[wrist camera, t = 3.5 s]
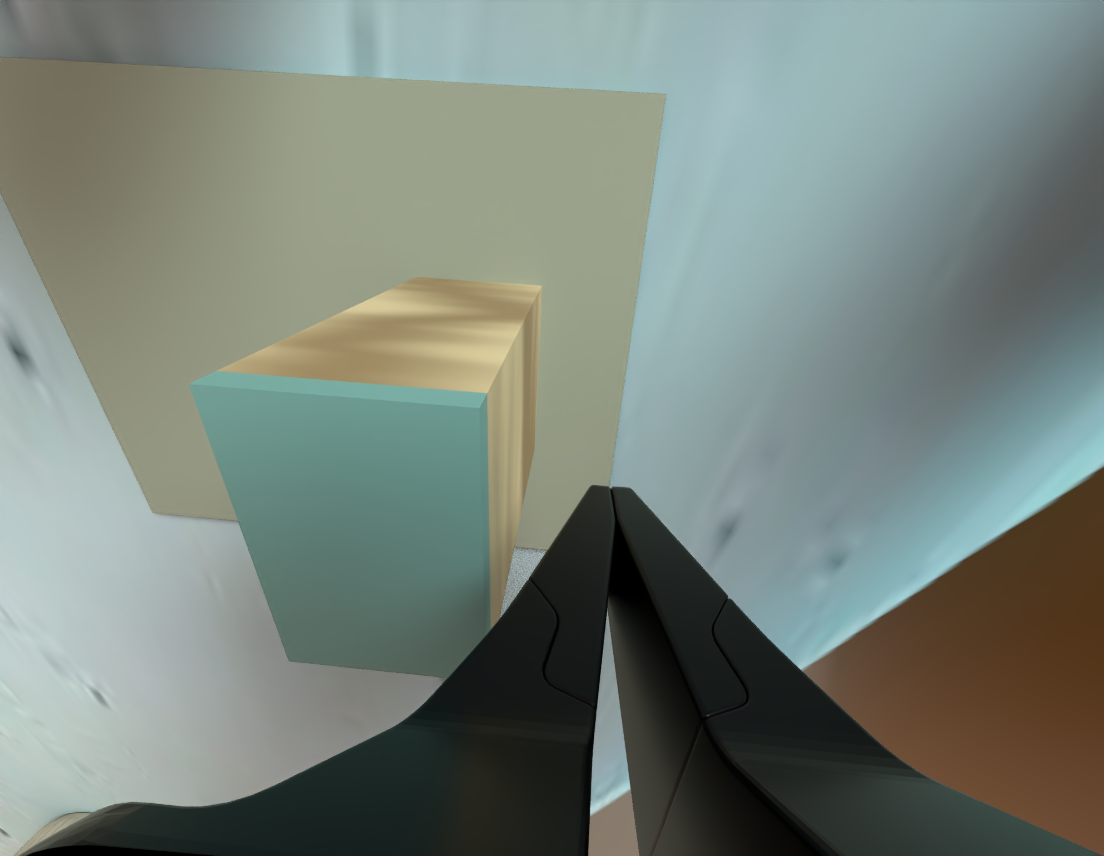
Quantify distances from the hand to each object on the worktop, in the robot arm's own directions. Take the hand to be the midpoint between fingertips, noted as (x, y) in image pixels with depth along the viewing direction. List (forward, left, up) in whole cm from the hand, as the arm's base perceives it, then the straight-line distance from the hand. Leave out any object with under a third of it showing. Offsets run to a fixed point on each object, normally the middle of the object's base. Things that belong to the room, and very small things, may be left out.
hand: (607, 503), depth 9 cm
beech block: (+4, 0, -7) cm, 8 cm away
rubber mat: (+9, 0, -7) cm, 12 cm away
